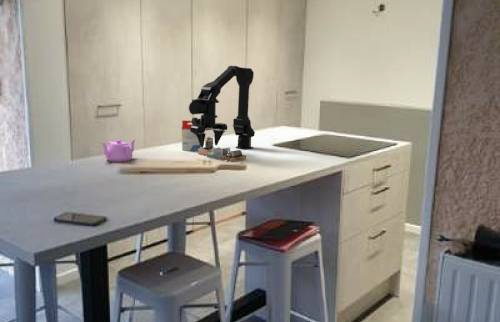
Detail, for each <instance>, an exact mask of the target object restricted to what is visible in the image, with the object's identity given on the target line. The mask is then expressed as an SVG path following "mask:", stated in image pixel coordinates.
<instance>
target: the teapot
mask: <svg viewBox="0 0 500 322" xmlns="http://www.w3.org/2000/svg"><path fill="white" fill-rule="evenodd" d="M136 140H137V138H133V139H132V140H131V142H130V145H129V144H128V143H127V142H125V141H122V139H116V140H115V141H111V140H110V141H108V146H107V143H106V142H105V143H104V142H102V141H101V142H100V144H102V148H103V149H102V150H103V154H104V156H105V158H106V160H108V161H109V162H111V163H115V162H116V163H120V162H121V163H123V162H129V161H131V160H132V158H133V153H134V150H135V142H136Z"/></svg>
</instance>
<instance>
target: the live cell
mask: <svg viewBox="0 0 500 322" xmlns="http://www.w3.org/2000/svg"><path fill="white" fill-rule="evenodd" d="M242 155H243V152H242V150H241V149H237V150H230V151H229V152H227V154H226V157H228V158H235V157H240V156H242Z"/></svg>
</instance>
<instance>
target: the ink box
mask: <svg viewBox="0 0 500 322" xmlns="http://www.w3.org/2000/svg"><path fill="white" fill-rule="evenodd" d="M181 125H182V126H181V151H189V152H198V148H202V147H201V146H200V143H199V140H198V138H197V136H196V135H195V134H193V132H190V128H191V126H195V125H192V120H182V121H181Z"/></svg>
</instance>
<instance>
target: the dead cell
mask: <svg viewBox="0 0 500 322" xmlns="http://www.w3.org/2000/svg"><path fill="white" fill-rule="evenodd" d="M204 146H205V149H206V150H211V149H212V148H213V147H214V137H211V136H208V137H205V140H204Z"/></svg>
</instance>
